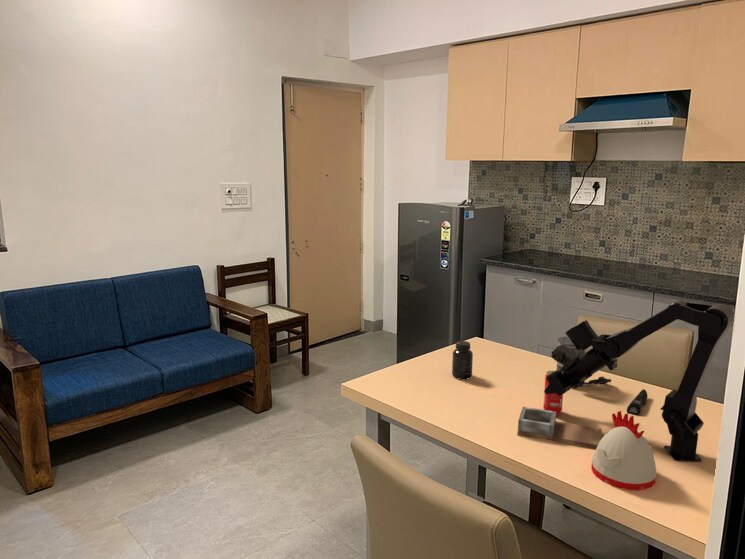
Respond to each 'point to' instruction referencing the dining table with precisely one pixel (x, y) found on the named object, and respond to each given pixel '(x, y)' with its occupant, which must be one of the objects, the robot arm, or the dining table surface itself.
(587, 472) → the dining table surface
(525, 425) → the socket board
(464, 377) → the supplement bottle
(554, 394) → the beverage can
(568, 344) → the milk frother
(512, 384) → the dining table surface
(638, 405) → the electric trimmer
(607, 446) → the kitchen timer
